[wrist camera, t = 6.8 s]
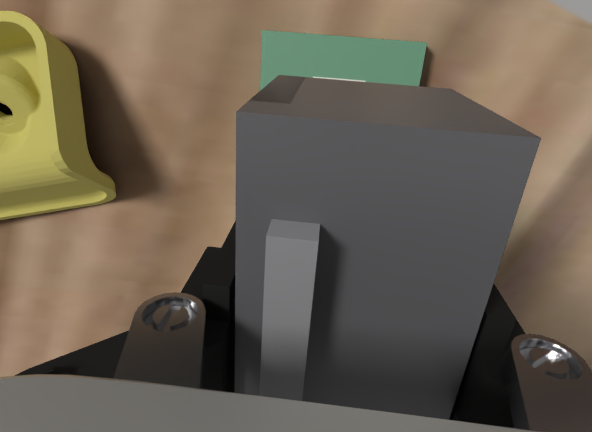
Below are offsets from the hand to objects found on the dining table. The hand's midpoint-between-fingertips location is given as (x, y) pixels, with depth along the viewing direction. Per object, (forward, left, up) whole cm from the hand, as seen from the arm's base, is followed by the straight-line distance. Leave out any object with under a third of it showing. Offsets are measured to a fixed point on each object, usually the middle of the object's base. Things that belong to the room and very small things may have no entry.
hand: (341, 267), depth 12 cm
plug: (0, 0, -1) cm, 1 cm away
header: (0, 0, -15) cm, 15 cm away
